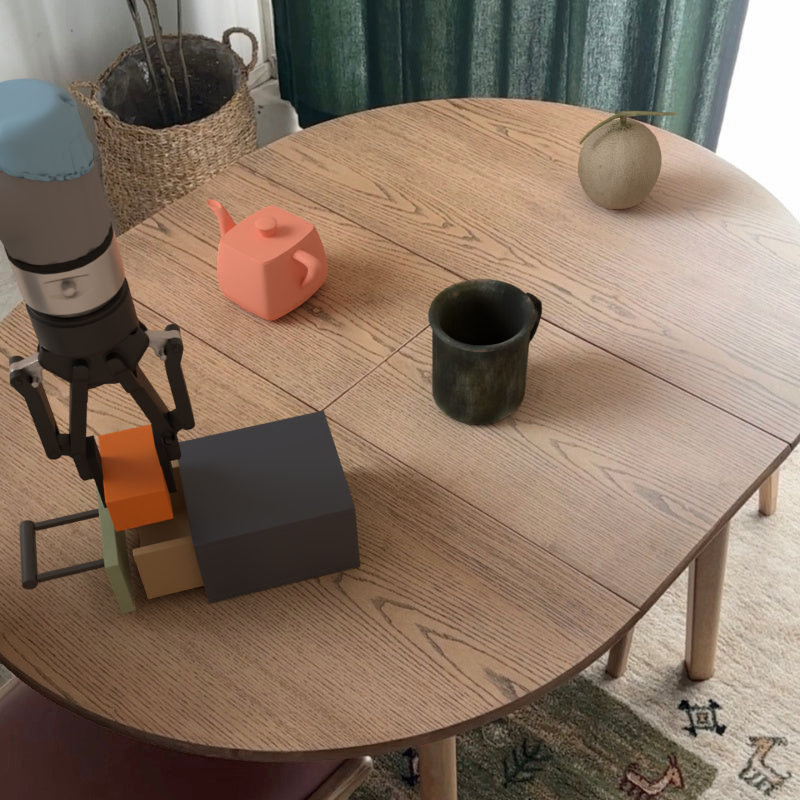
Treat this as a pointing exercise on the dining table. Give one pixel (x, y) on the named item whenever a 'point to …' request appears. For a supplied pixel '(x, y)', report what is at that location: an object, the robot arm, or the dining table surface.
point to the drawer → (126, 552)
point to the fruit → (620, 161)
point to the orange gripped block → (133, 479)
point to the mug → (481, 348)
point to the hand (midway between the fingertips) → (139, 488)
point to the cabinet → (268, 506)
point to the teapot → (269, 260)
